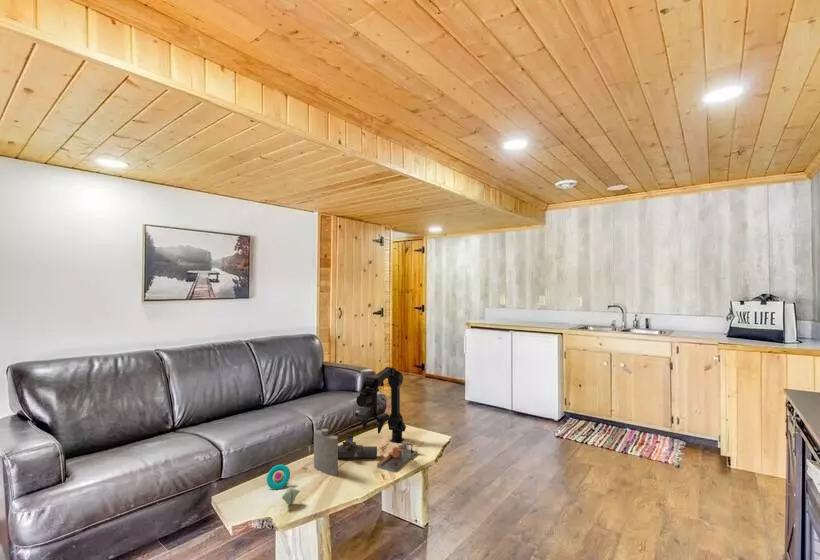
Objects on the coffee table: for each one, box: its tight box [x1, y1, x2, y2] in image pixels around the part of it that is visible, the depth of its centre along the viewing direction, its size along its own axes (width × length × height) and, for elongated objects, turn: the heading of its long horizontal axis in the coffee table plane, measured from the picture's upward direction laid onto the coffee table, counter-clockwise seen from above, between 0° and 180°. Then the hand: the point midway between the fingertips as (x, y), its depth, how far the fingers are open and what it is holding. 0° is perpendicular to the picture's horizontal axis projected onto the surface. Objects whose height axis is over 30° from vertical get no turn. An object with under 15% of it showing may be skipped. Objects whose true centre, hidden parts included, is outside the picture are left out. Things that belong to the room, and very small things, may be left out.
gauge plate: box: [376, 440, 419, 473], centre depth 209 cm, size 24×10×6 cm, turn 151°
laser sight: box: [338, 434, 378, 460], centre depth 212 cm, size 10×22×10 cm, turn 89°
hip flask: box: [313, 428, 339, 477], centre depth 198 cm, size 16×4×20 cm, turn 52°
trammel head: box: [388, 446, 404, 458], centre depth 210 cm, size 2×8×4 cm, turn 61°
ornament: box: [266, 463, 291, 490], centre depth 184 cm, size 11×4×10 cm
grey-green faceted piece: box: [281, 486, 301, 506], centre depth 168 cm, size 8×4×7 cm, turn 130°
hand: (371, 431), depth 210 cm, fingers open, 9 cm apart
